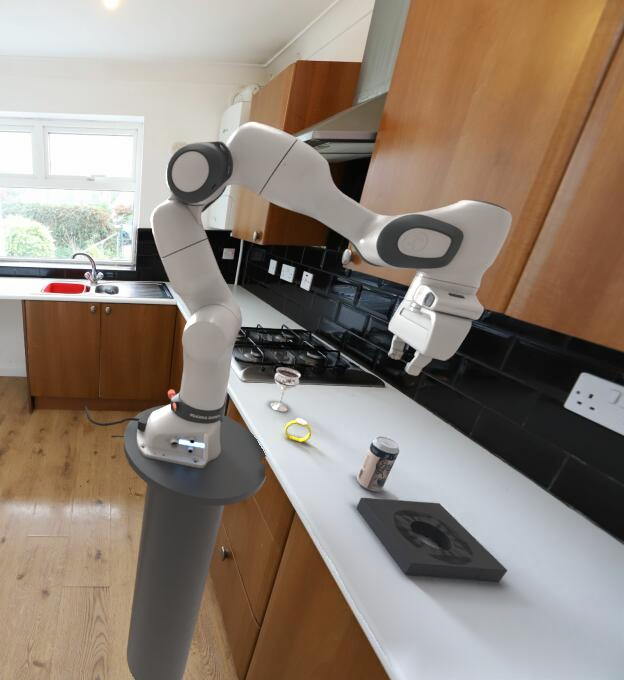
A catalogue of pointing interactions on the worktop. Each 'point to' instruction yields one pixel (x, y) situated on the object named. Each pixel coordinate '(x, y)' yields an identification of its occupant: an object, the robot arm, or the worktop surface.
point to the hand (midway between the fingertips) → (401, 365)
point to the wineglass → (285, 384)
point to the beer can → (378, 463)
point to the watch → (301, 423)
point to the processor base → (439, 525)
